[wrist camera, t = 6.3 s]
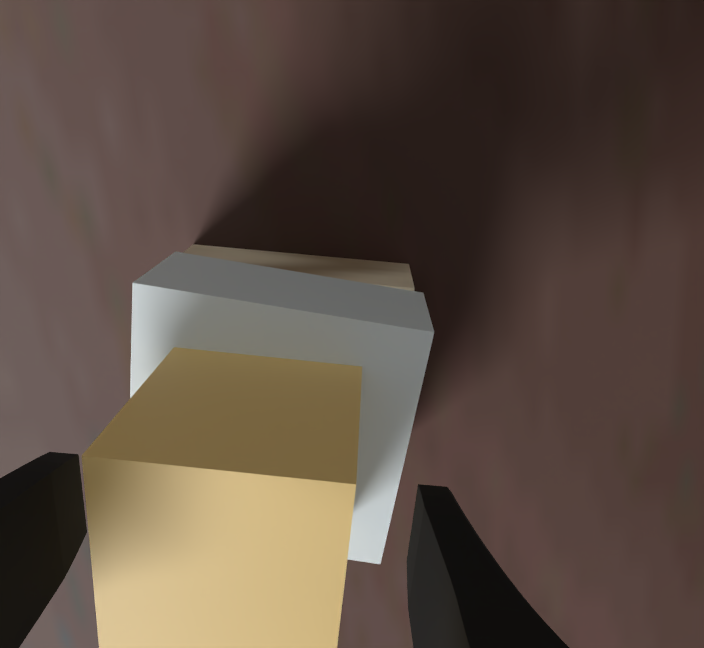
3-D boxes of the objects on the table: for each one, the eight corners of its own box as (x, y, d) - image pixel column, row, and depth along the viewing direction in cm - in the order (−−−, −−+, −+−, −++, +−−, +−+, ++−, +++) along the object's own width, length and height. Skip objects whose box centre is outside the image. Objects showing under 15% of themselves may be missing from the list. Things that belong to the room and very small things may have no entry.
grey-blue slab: (423, 292, 16) (434, 332, 13) (379, 494, 18) (380, 564, 15) (175, 251, 16) (132, 282, 13) (165, 460, 18) (127, 525, 15)
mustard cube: (362, 366, 13) (356, 484, 9) (345, 518, 15) (333, 678, 11) (174, 347, 13) (81, 455, 9) (177, 501, 15) (99, 654, 11)
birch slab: (408, 261, 19) (414, 287, 16) (385, 441, 21) (387, 492, 18) (197, 241, 19) (166, 265, 16) (199, 424, 21) (173, 473, 18)
